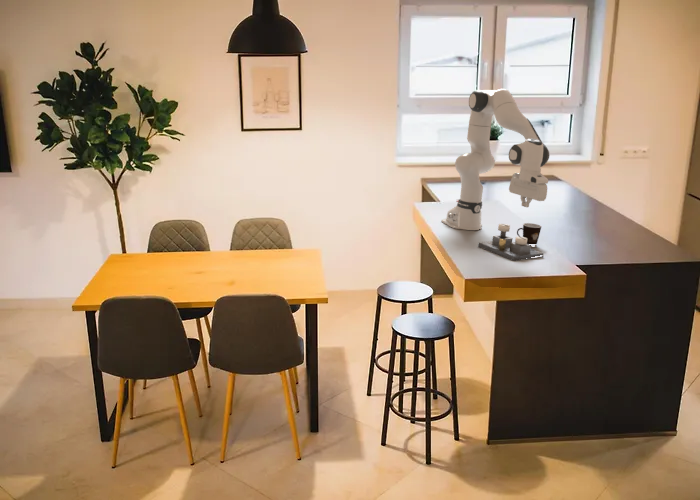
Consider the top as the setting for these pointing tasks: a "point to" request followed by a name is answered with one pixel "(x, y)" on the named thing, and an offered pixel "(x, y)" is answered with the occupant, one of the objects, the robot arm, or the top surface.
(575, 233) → the top surface
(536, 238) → the coffee mug
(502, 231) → the knob
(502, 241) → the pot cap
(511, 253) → the mount plate
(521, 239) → the knob
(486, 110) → the robot arm
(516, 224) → the top surface
